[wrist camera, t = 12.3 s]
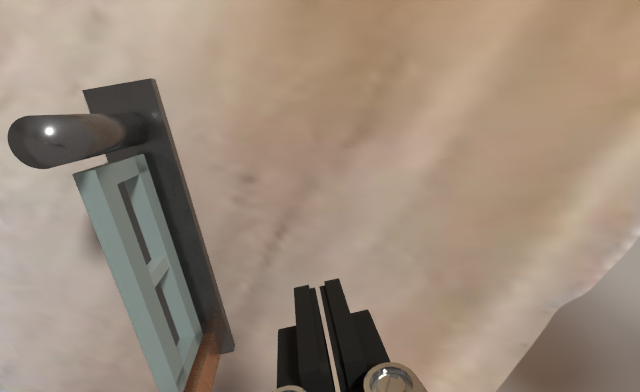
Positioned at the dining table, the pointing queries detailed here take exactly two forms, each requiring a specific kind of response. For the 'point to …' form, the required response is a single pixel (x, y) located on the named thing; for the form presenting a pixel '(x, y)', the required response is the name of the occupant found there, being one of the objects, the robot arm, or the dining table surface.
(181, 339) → the gate
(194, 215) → the gate frame
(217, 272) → the dining table surface
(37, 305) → the dining table surface
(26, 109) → the dining table surface
